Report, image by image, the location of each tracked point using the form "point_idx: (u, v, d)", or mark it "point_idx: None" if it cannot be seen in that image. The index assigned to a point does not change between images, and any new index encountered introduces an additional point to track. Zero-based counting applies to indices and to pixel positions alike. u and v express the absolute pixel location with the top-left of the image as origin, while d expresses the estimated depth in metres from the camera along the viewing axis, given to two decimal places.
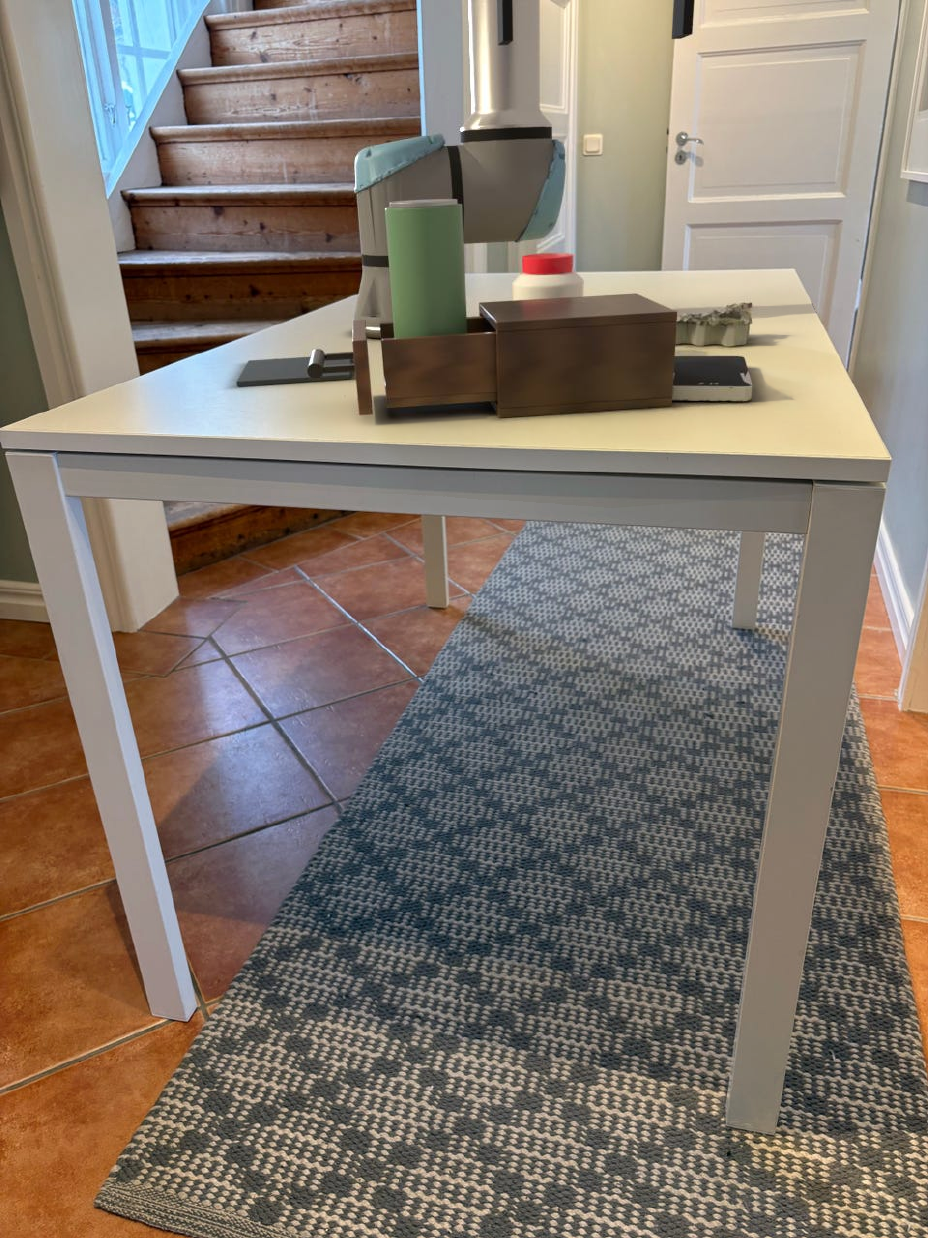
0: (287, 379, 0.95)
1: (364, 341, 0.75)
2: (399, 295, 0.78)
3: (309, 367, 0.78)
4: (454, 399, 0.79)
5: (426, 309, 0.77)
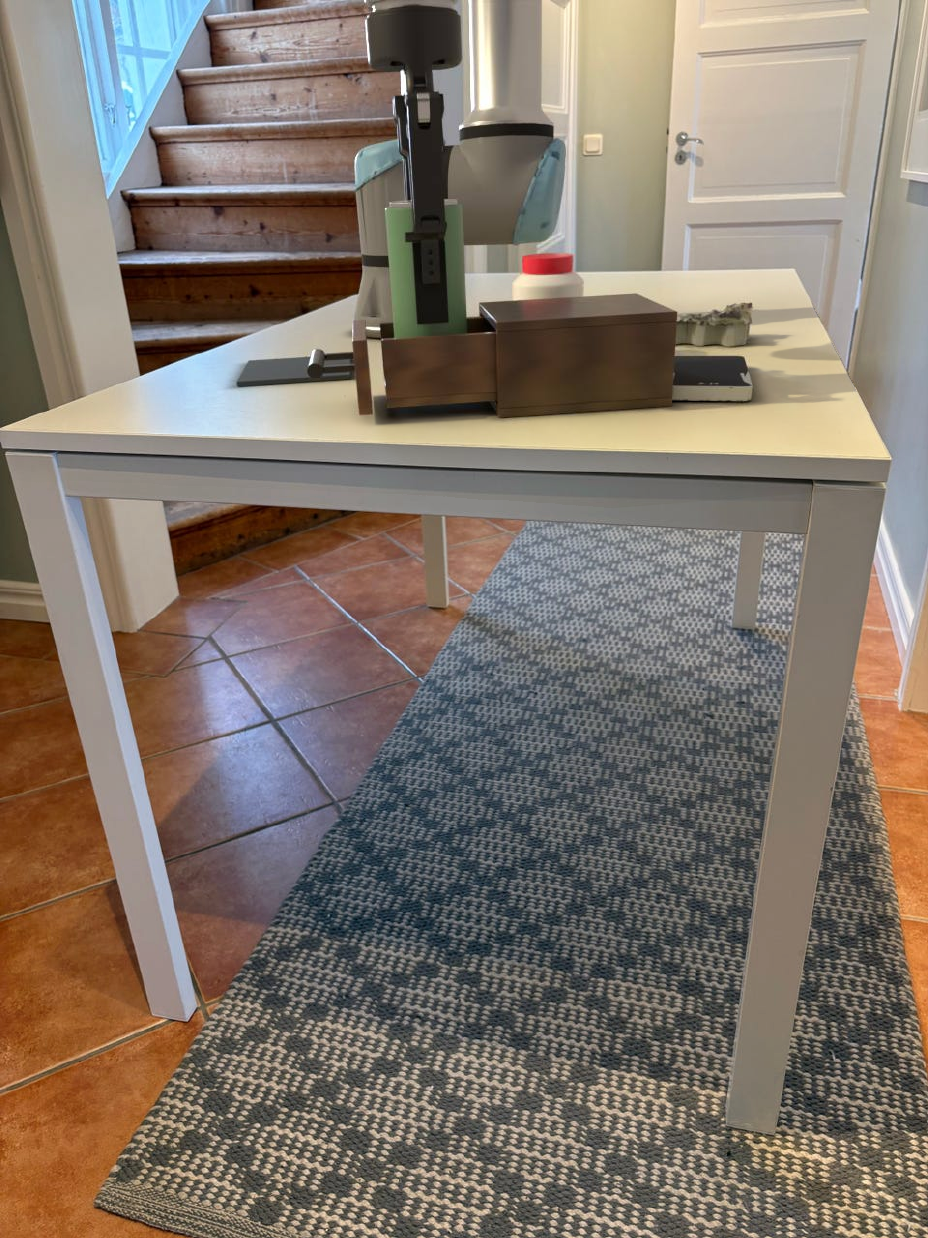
0: (287, 379, 0.95)
1: (364, 341, 0.75)
2: (399, 295, 0.78)
3: (309, 367, 0.78)
4: (454, 399, 0.79)
5: None
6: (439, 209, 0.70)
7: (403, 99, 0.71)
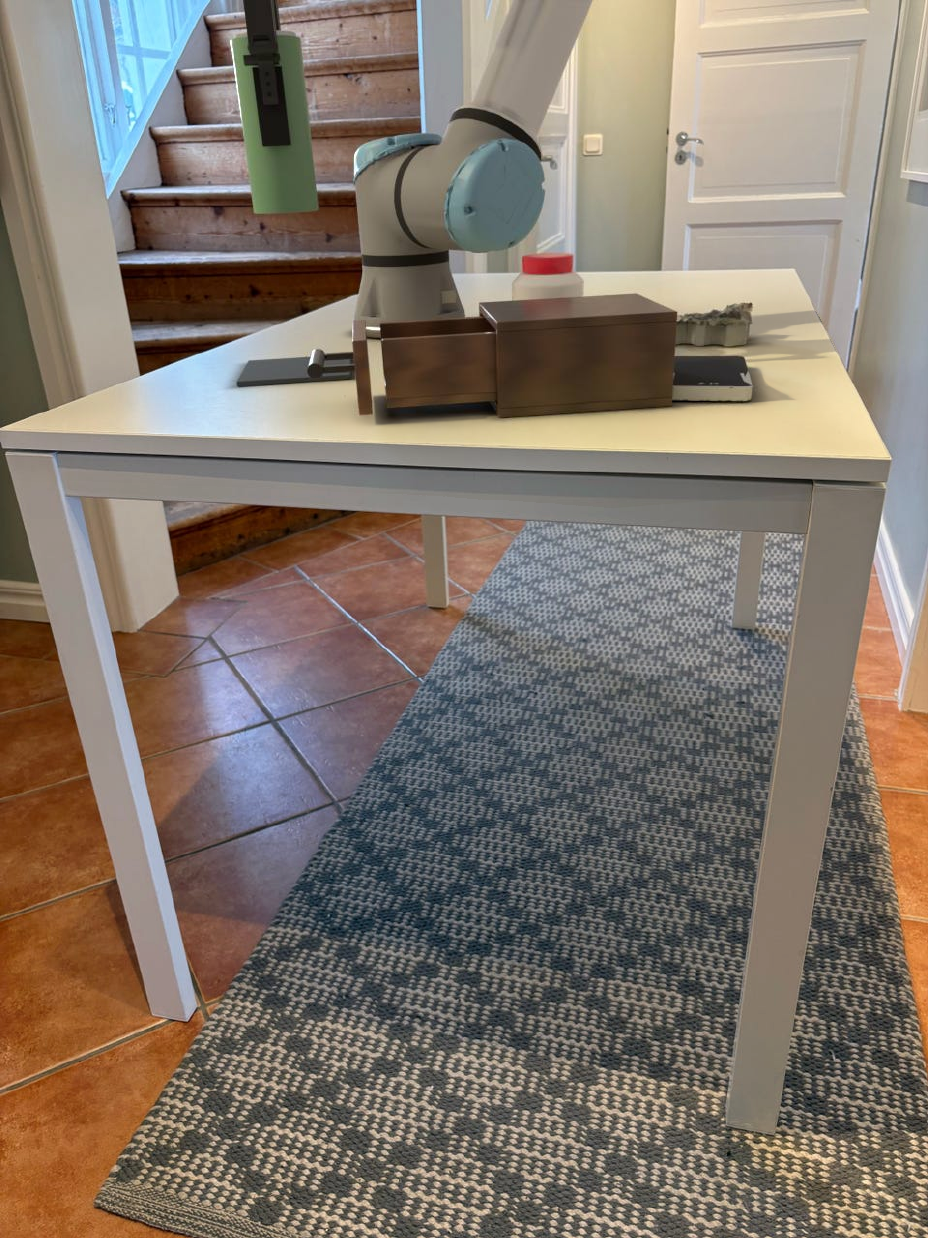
0: (287, 379, 0.95)
1: (364, 341, 0.75)
2: (246, 121, 0.87)
3: (309, 367, 0.78)
4: (454, 399, 0.79)
5: None
6: (269, 29, 0.79)
7: None
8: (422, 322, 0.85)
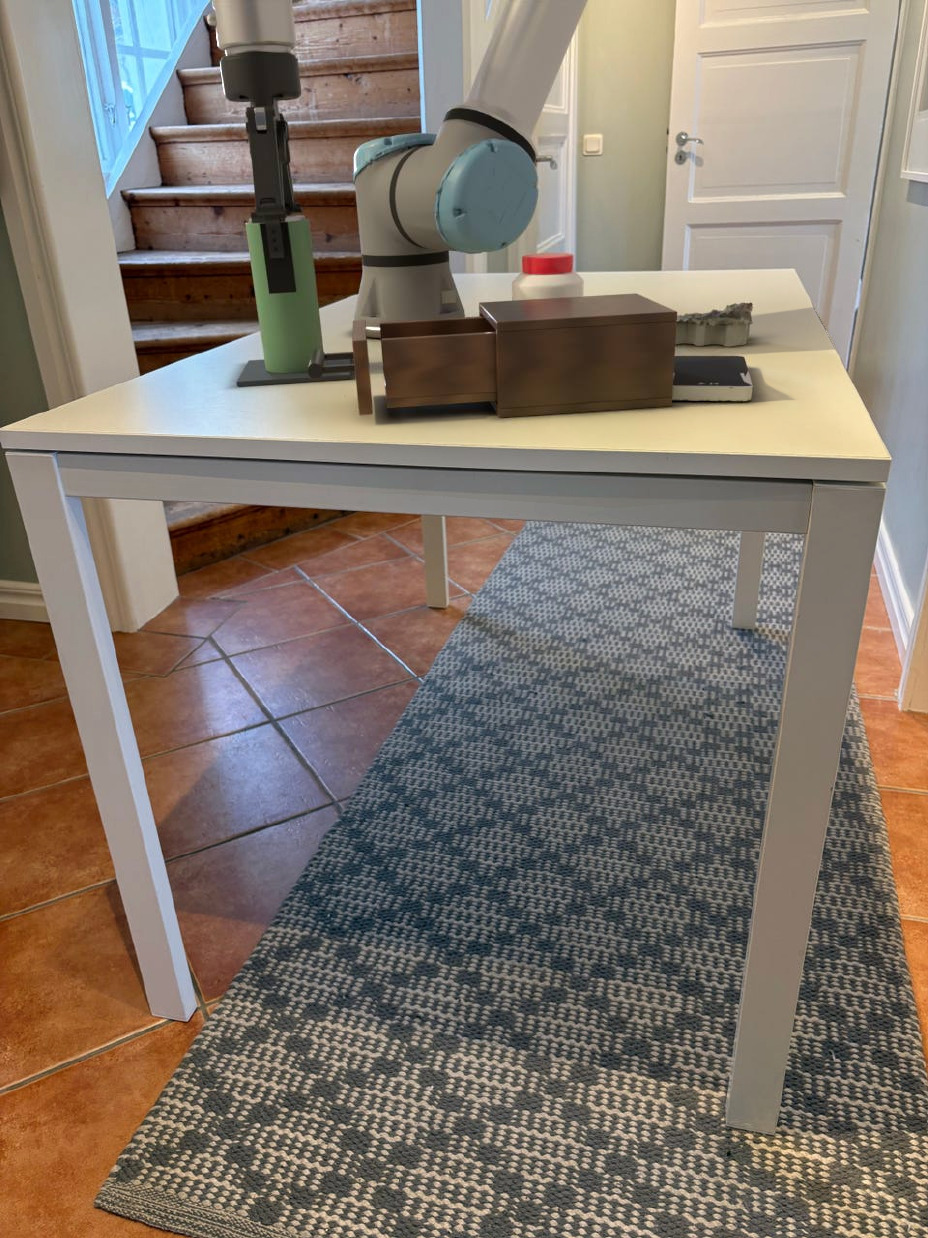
0: (287, 379, 0.95)
1: (364, 341, 0.75)
2: (259, 294, 0.95)
3: (309, 367, 0.78)
4: (454, 399, 0.79)
5: (280, 305, 0.94)
6: (276, 193, 0.84)
7: None
8: (422, 322, 0.85)
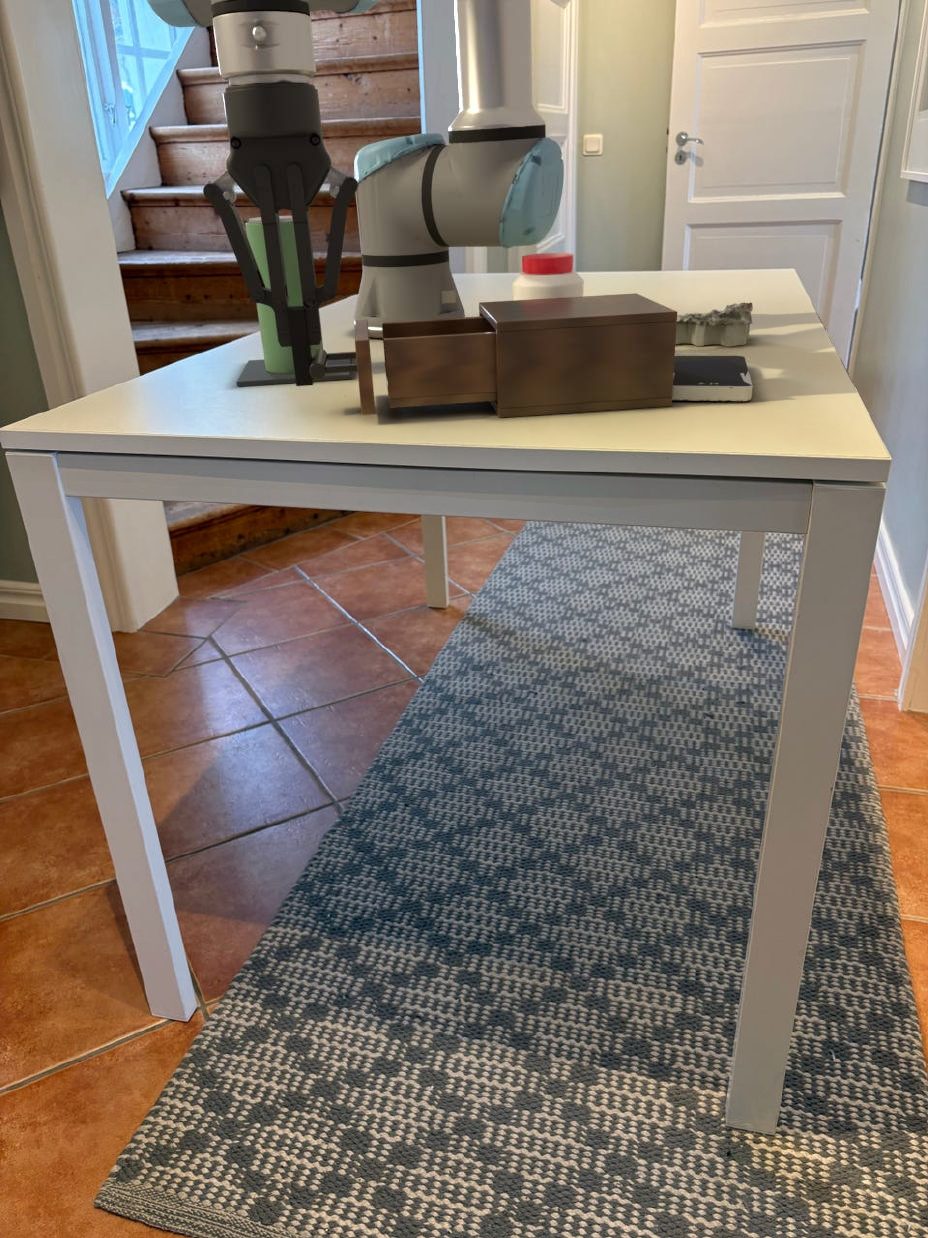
0: (287, 379, 0.95)
1: (367, 341, 0.75)
2: None
3: (312, 367, 0.78)
4: (456, 399, 0.79)
5: None
6: None
7: (302, 171, 0.73)
8: (424, 322, 0.85)
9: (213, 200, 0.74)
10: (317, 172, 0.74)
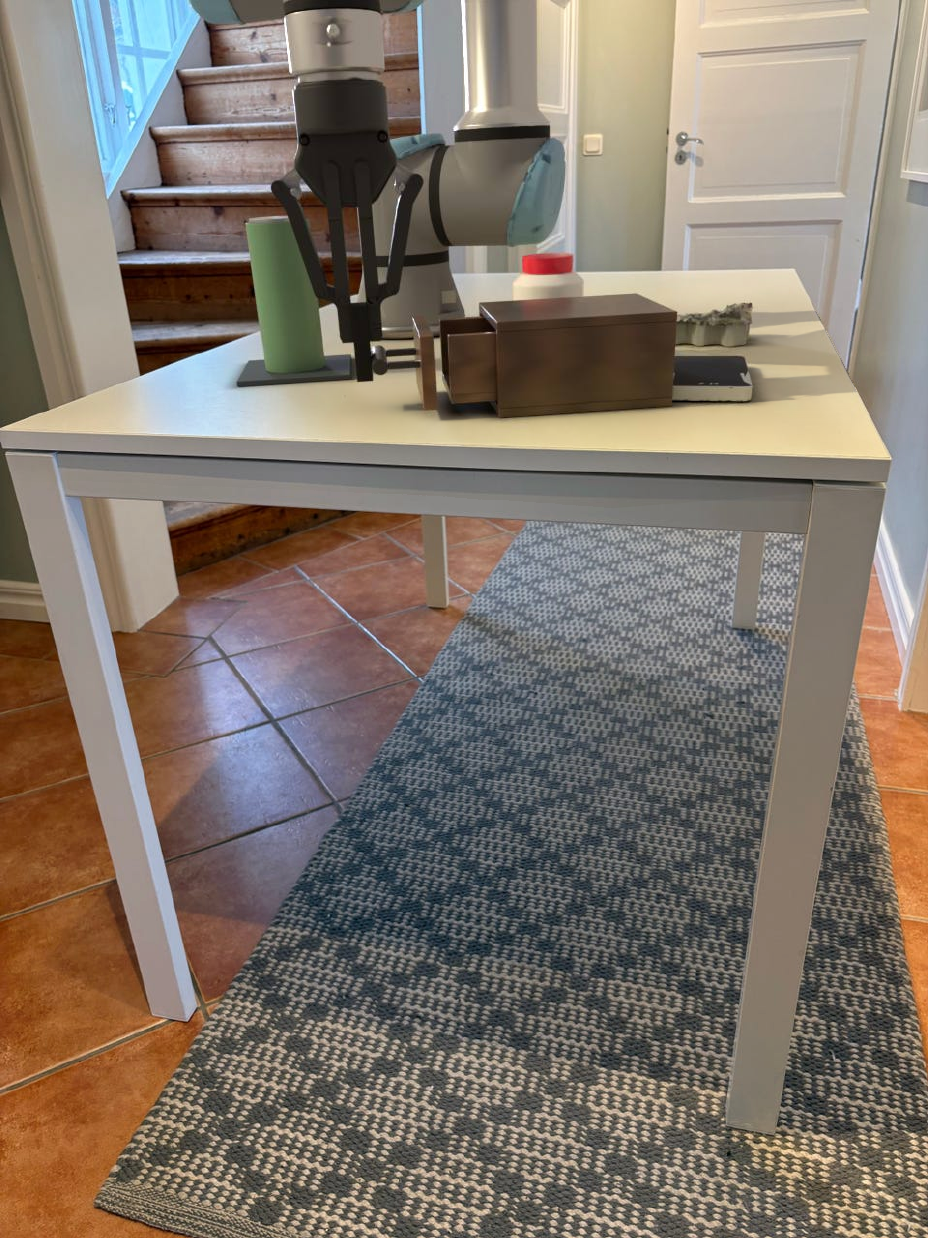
0: (287, 379, 0.95)
1: (431, 337, 0.76)
2: (259, 294, 0.95)
3: (374, 363, 0.78)
4: None
5: (280, 305, 0.94)
6: None
7: (369, 168, 0.74)
8: (482, 318, 0.85)
9: (280, 197, 0.74)
10: (384, 169, 0.74)
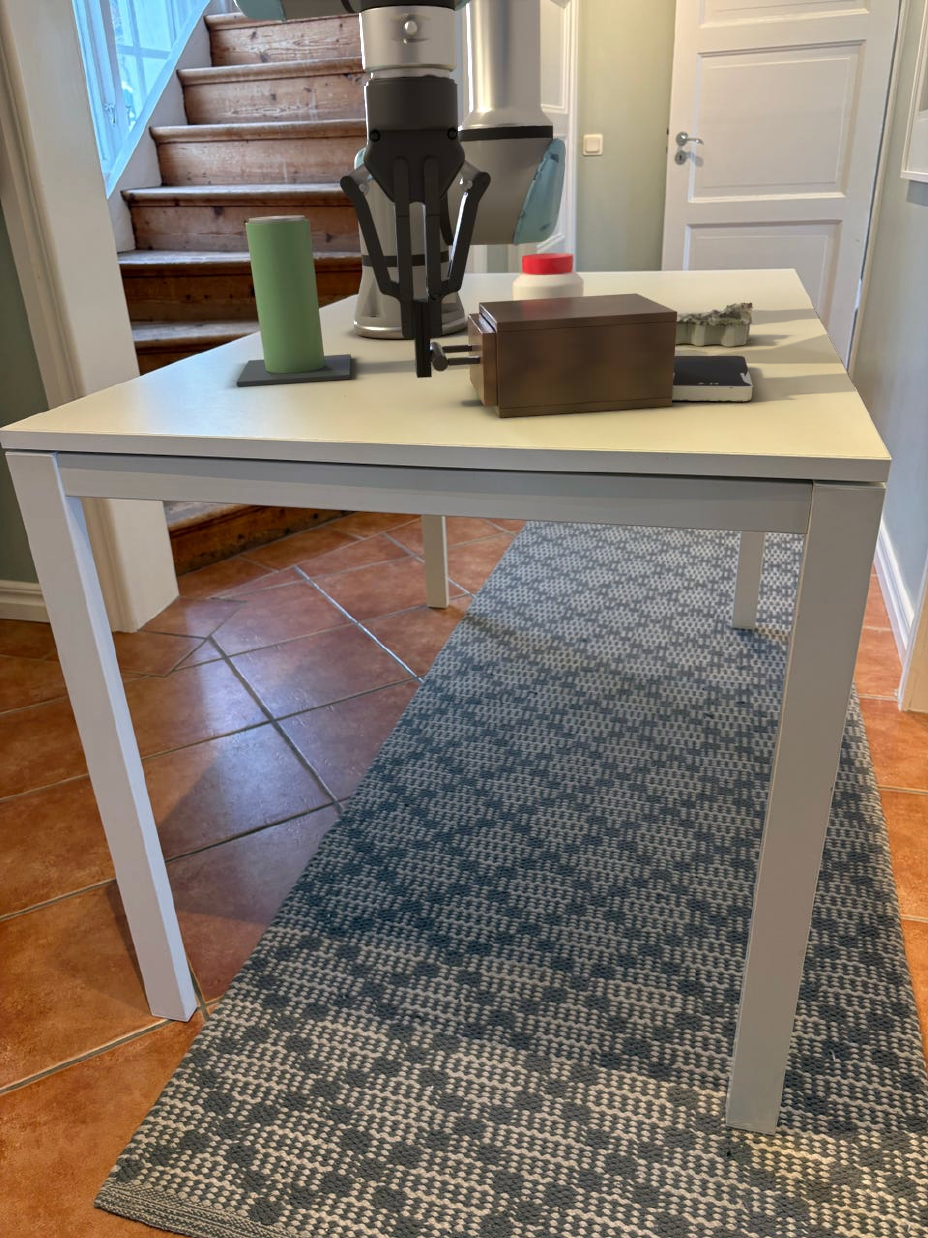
0: (287, 379, 0.95)
1: (494, 333, 0.76)
2: (259, 294, 0.95)
3: (435, 359, 0.79)
4: None
5: (280, 305, 0.94)
6: None
7: (438, 165, 0.74)
8: None
9: (349, 192, 0.74)
10: (452, 166, 0.74)
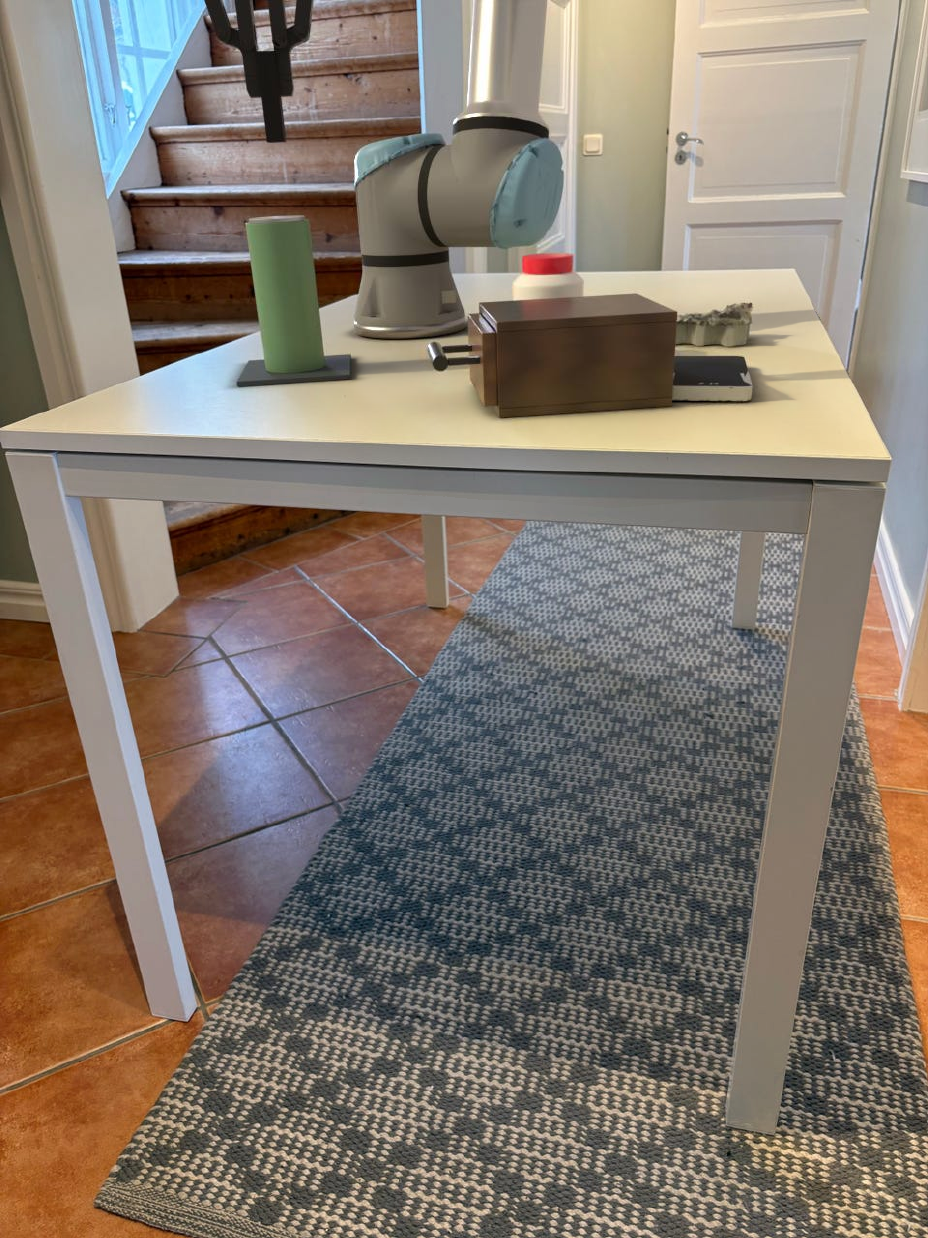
0: (287, 379, 0.95)
1: (494, 333, 0.76)
2: (259, 294, 0.95)
3: (435, 359, 0.79)
4: None
5: (280, 305, 0.94)
6: (311, 19, 0.74)
7: None
8: None
9: None
10: None
